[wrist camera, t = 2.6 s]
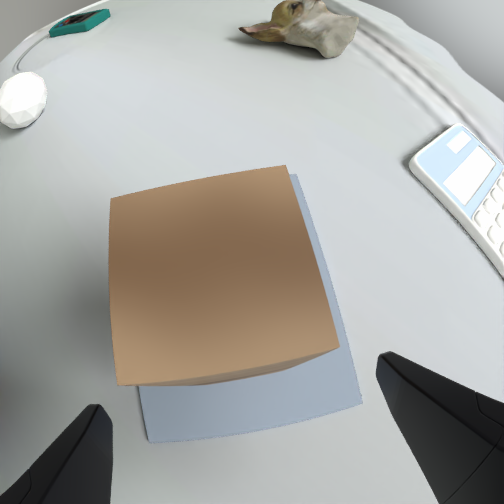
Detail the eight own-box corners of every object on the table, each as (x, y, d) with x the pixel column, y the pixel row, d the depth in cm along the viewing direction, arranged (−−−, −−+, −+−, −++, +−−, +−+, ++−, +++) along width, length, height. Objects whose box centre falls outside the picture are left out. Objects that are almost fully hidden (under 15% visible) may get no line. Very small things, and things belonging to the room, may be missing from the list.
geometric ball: (52, 126, 33) (55, 92, 26) (2, 147, 28) (-5, 115, 22) (41, 88, 32) (44, 53, 25) (-6, 107, 27) (-10, 72, 21)
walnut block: (283, 370, 18) (340, 347, 6) (205, 385, 18) (117, 385, 6) (267, 296, 20) (285, 164, 8) (192, 310, 20) (110, 198, 8)
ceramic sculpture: (343, 14, 23) (232, -6, 28) (335, 76, 31) (237, 47, 36) (373, 2, 27) (277, -19, 31) (365, 52, 35) (278, 26, 39)
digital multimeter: (71, 24, 48) (68, 14, 45) (112, 17, 45) (109, 6, 43) (49, 39, 45) (45, 30, 42) (88, 33, 42) (85, 21, 40)
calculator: (527, 320, 19) (539, 315, 17) (401, 168, 26) (408, 155, 24) (554, 245, 22) (563, 238, 21) (453, 128, 29) (459, 117, 27)
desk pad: (361, 403, 17) (362, 403, 17) (150, 442, 16) (149, 443, 16) (296, 176, 25) (296, 173, 24) (128, 206, 23) (127, 204, 23)
